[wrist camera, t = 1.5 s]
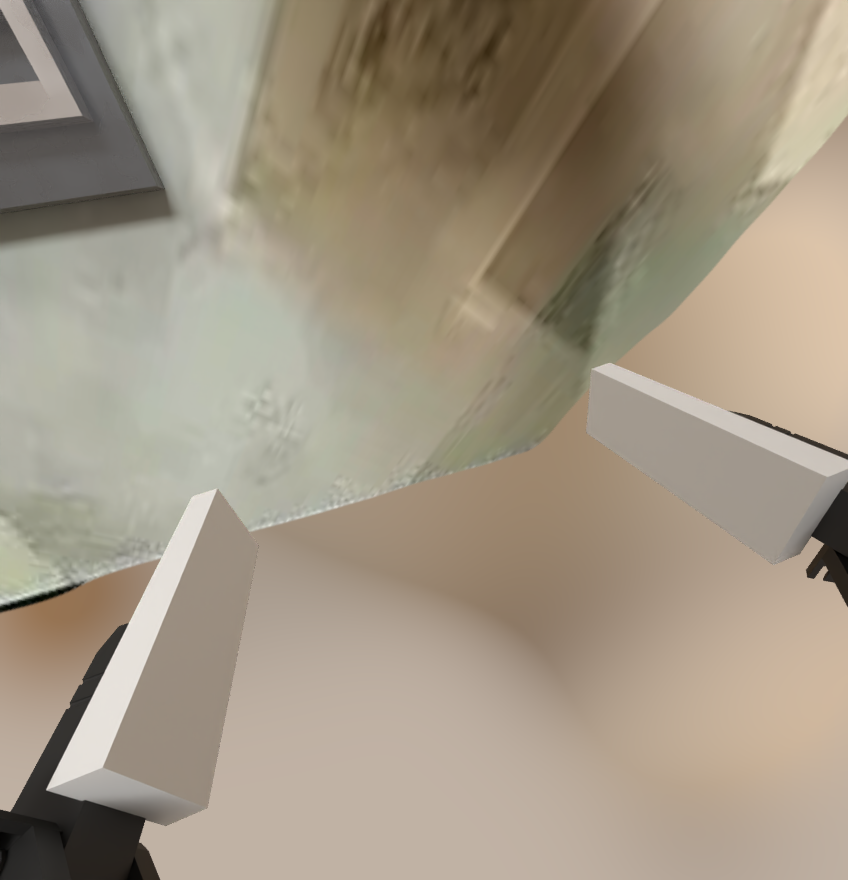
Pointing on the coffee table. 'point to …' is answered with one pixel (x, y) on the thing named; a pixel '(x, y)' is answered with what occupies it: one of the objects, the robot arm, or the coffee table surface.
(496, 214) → the coffee table surface
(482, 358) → the coffee table surface
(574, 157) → the coffee table surface
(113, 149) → the fader panel
